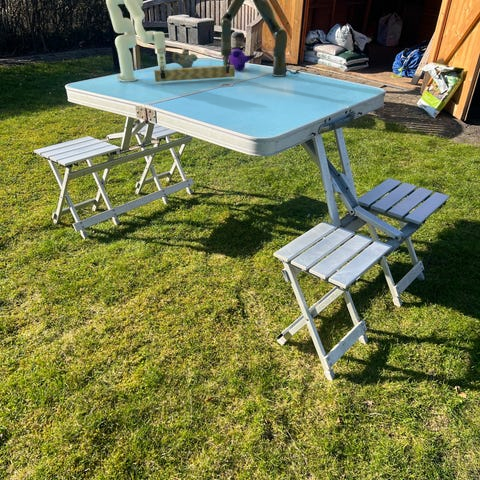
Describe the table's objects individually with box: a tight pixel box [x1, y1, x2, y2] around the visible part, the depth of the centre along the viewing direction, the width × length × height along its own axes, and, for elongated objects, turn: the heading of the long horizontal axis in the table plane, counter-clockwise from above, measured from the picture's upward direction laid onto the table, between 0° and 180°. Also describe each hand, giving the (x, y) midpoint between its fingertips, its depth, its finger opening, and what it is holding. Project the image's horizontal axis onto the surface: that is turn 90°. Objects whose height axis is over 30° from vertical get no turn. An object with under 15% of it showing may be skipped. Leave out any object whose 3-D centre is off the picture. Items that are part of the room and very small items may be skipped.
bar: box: [153, 65, 236, 83], centre depth 332 cm, size 59×5×8 cm, turn 105°
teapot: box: [172, 48, 198, 68], centre depth 382 cm, size 21×12×15 cm, turn 109°
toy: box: [229, 48, 258, 72], centre depth 368 cm, size 16×18×27 cm
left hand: (162, 77), depth 328 cm, fingers closed on bar, 4 cm apart
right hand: (226, 72), depth 337 cm, fingers closed on bar, 4 cm apart
